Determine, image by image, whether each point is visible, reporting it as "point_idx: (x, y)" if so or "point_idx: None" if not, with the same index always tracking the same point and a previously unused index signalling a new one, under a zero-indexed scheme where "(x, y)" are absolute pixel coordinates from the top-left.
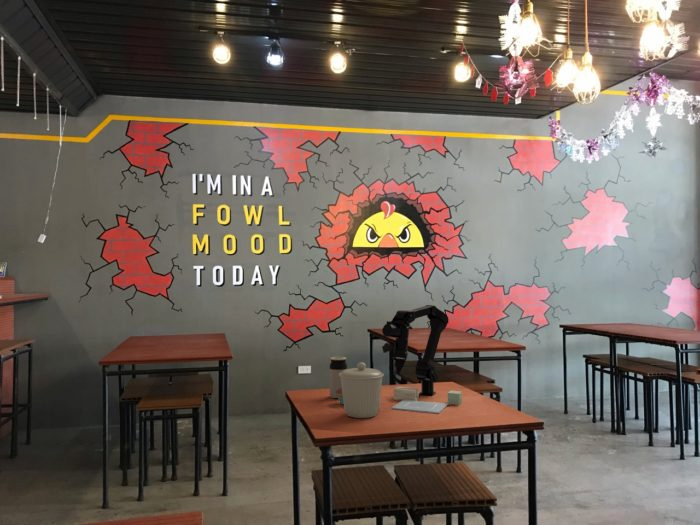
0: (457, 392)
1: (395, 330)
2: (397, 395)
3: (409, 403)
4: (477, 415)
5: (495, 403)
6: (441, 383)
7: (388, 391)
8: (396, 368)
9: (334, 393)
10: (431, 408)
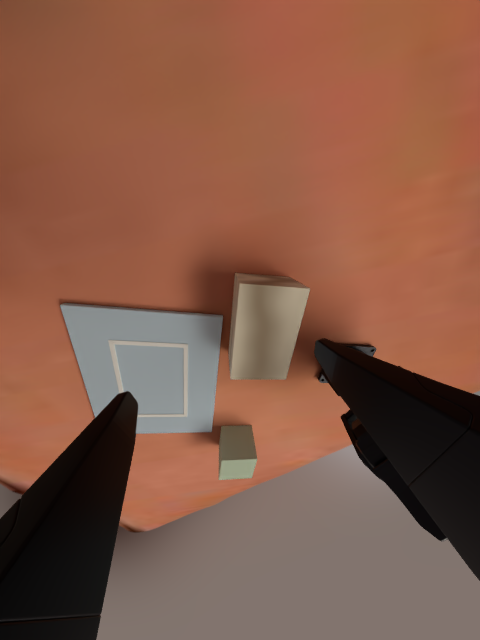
0: (235, 474)
1: None
2: (235, 294)
3: (167, 348)
4: (137, 480)
5: (256, 482)
6: None
7: (399, 209)
8: (56, 459)
9: None
10: None
